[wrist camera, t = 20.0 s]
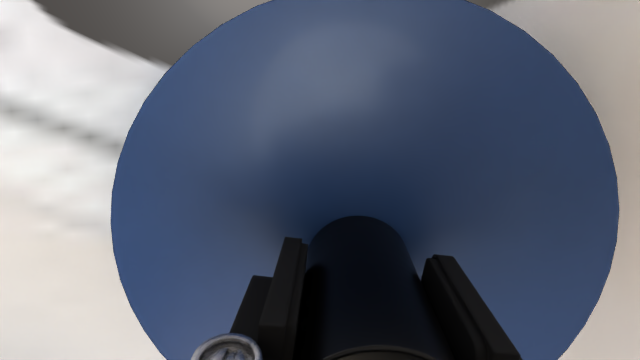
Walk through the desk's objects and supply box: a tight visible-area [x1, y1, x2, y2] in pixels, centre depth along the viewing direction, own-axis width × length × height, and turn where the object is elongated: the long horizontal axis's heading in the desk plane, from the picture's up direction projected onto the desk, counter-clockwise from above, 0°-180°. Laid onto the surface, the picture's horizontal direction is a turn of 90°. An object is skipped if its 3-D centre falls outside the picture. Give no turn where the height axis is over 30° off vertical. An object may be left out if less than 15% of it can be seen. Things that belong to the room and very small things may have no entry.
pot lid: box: [111, 0, 619, 360], centre depth 10 cm, size 18×18×7 cm
